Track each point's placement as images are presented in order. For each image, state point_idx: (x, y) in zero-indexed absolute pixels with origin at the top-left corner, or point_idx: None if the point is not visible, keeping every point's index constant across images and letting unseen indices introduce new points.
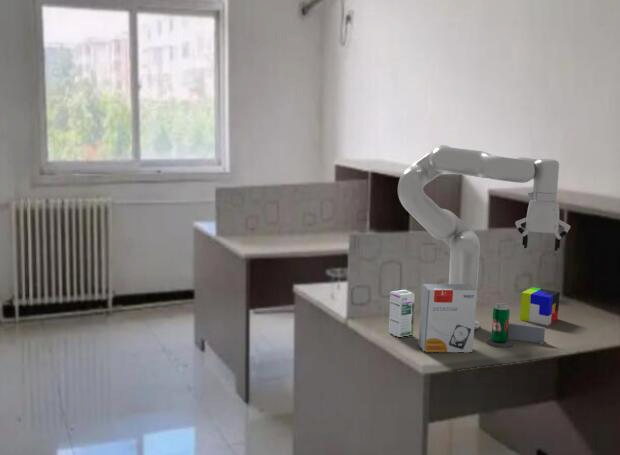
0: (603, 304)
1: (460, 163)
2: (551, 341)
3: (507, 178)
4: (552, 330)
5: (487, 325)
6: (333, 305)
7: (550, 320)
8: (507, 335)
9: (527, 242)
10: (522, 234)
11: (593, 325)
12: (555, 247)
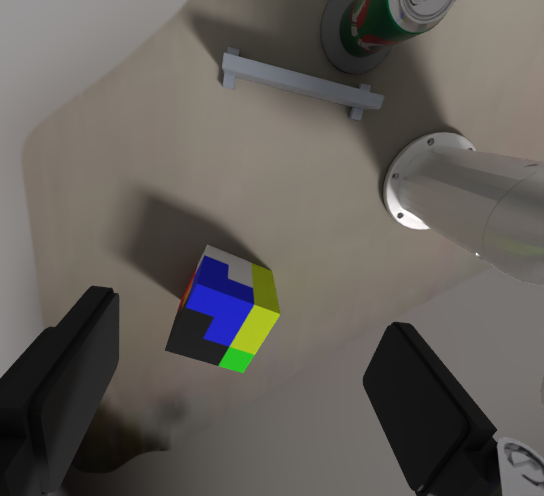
0: None
1: None
2: (202, 93)
3: None
4: (195, 203)
5: (358, 202)
6: None
7: (198, 264)
8: (349, 8)
9: (381, 410)
10: (536, 467)
11: (91, 274)
12: (93, 308)
